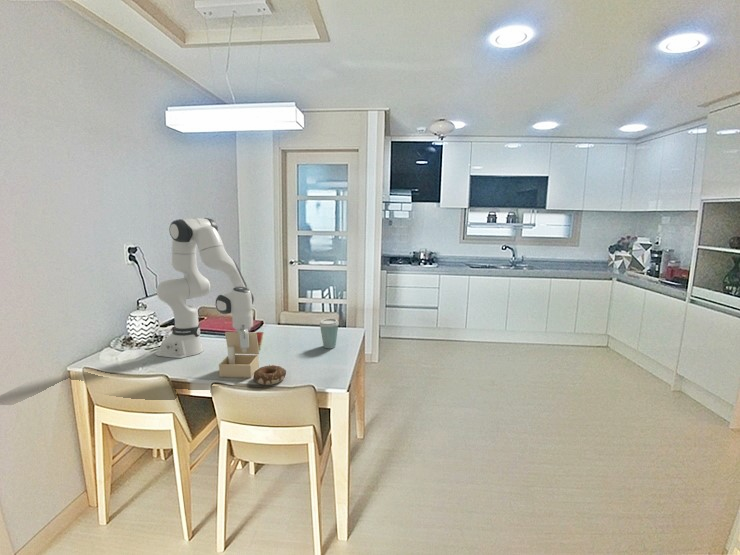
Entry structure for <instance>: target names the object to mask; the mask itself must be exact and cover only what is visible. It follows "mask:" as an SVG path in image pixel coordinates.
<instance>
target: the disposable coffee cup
mask: <svg viewBox="0 0 740 555" xmlns="http://www.w3.org/2000/svg"><path fill="white" fill-rule="evenodd" d="M339 324H340V323H339V321H338V319H337V318H333V317H330V318H329V317H328V318H324V319H322V320H320V322H319V327H320V334H321V340H322V345H323V348H325V349H334V348H336V345H337V338H338V329H339Z"/></svg>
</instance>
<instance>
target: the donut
mask: <svg viewBox="0 0 740 555" xmlns="http://www.w3.org/2000/svg"><path fill="white" fill-rule="evenodd" d="M286 374H287V371H286V369H285V368H283V367H281V366H279V365H274V364H272V365H270V364H269V365H264V366H261V367H259V368H258V369H257V370H256V371H255V372H254V375H253V376H252V377H253V378H252V379H253V382H255V383H257V384H259V385H262V386H271V385H276V384H278V383H280V382H282V381H283V379H284V378H286Z"/></svg>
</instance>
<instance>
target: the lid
mask: <svg viewBox="0 0 740 555" xmlns="http://www.w3.org/2000/svg"><path fill="white" fill-rule="evenodd" d="M256 332H257V331H255V332H253V331H252V332H251V331H248V333H249V348H247V349H246V352H245V353H243V352H242V349H241V347H240V340H239V332H238V331H224V336H225V341H226V345H227V346H226V347H227V348H228V347H229V346H234V347H235V355H260V350H259V349H258V341H257V334H256Z"/></svg>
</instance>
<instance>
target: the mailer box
mask: <svg viewBox="0 0 740 555" xmlns="http://www.w3.org/2000/svg"><path fill="white" fill-rule="evenodd" d="M259 360H260V359H259V354H235V347H234V346H229V347H227V356H226V357H225V358H223V360H222V361H221V362H220V363H219V364H218V369H219V370H218V371H219V373H218V374H219V378H232V379H235V378H236V379H238V378H239V379H240V378H241V379H252V377H254V372H255V371H256V370H258V369H259V368H260V364H259V363H260V362H259Z"/></svg>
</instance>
